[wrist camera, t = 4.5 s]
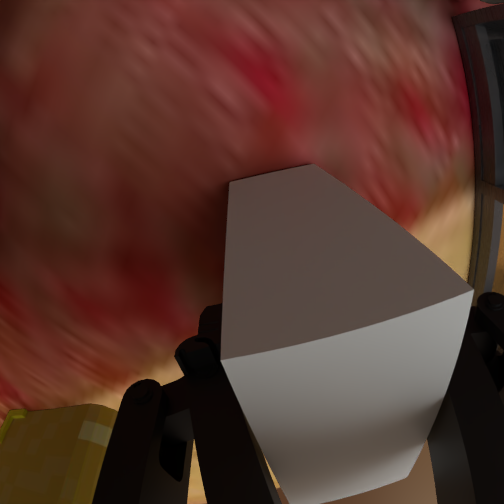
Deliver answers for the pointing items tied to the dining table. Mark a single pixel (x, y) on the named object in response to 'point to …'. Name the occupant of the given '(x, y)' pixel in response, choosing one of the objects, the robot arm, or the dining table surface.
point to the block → (334, 332)
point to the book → (53, 454)
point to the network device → (493, 1)
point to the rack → (486, 141)
